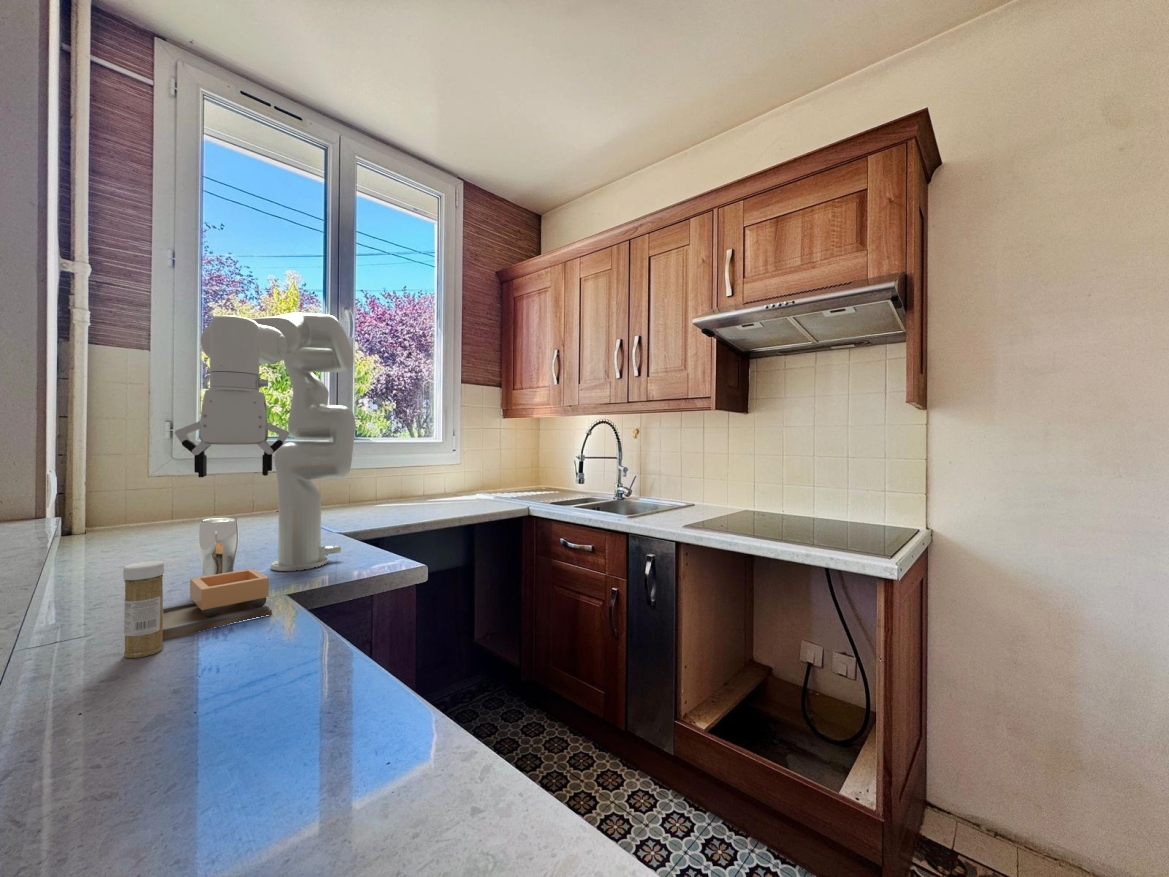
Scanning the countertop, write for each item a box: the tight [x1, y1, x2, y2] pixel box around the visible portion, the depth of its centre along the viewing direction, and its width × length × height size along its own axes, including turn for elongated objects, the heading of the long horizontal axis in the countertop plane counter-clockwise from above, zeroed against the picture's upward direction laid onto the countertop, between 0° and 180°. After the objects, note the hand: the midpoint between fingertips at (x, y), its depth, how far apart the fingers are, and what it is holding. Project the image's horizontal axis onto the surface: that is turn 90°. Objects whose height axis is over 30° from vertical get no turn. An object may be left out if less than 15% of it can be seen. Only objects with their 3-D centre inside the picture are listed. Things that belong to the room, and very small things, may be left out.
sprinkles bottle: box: [122, 560, 165, 659], centre depth 74 cm, size 5×5×14 cm
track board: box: [162, 601, 273, 641], centre depth 88 cm, size 18×14×2 cm
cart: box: [189, 568, 270, 618], centre depth 91 cm, size 10×10×5 cm
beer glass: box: [197, 517, 240, 577], centre depth 106 cm, size 7×7×15 cm
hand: (234, 475), depth 92 cm, fingers open, 9 cm apart
